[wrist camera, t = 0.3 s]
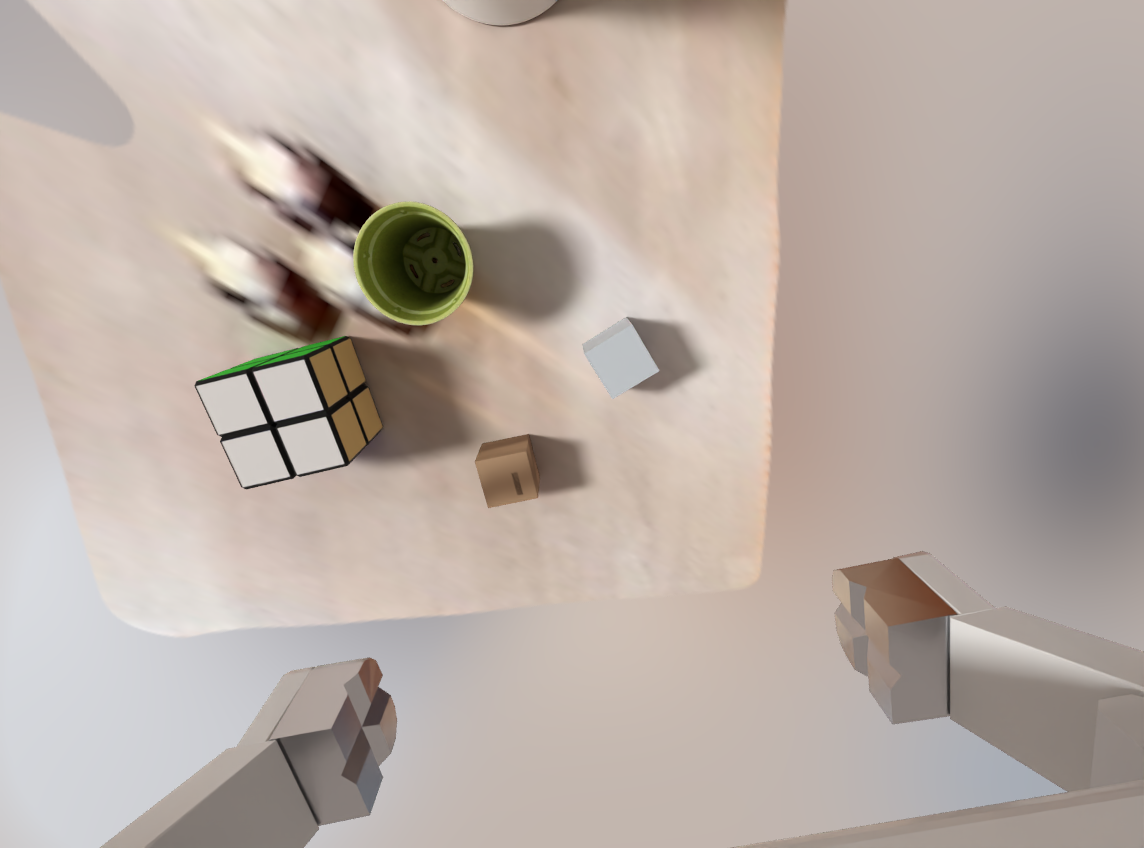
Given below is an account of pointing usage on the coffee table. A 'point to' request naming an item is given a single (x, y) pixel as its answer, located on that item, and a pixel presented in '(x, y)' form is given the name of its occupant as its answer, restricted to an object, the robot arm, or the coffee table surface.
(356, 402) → the puzzle cube
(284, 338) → the coffee table surface
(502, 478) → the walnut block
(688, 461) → the coffee table surface
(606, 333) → the grey-blue block
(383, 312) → the plant pot
